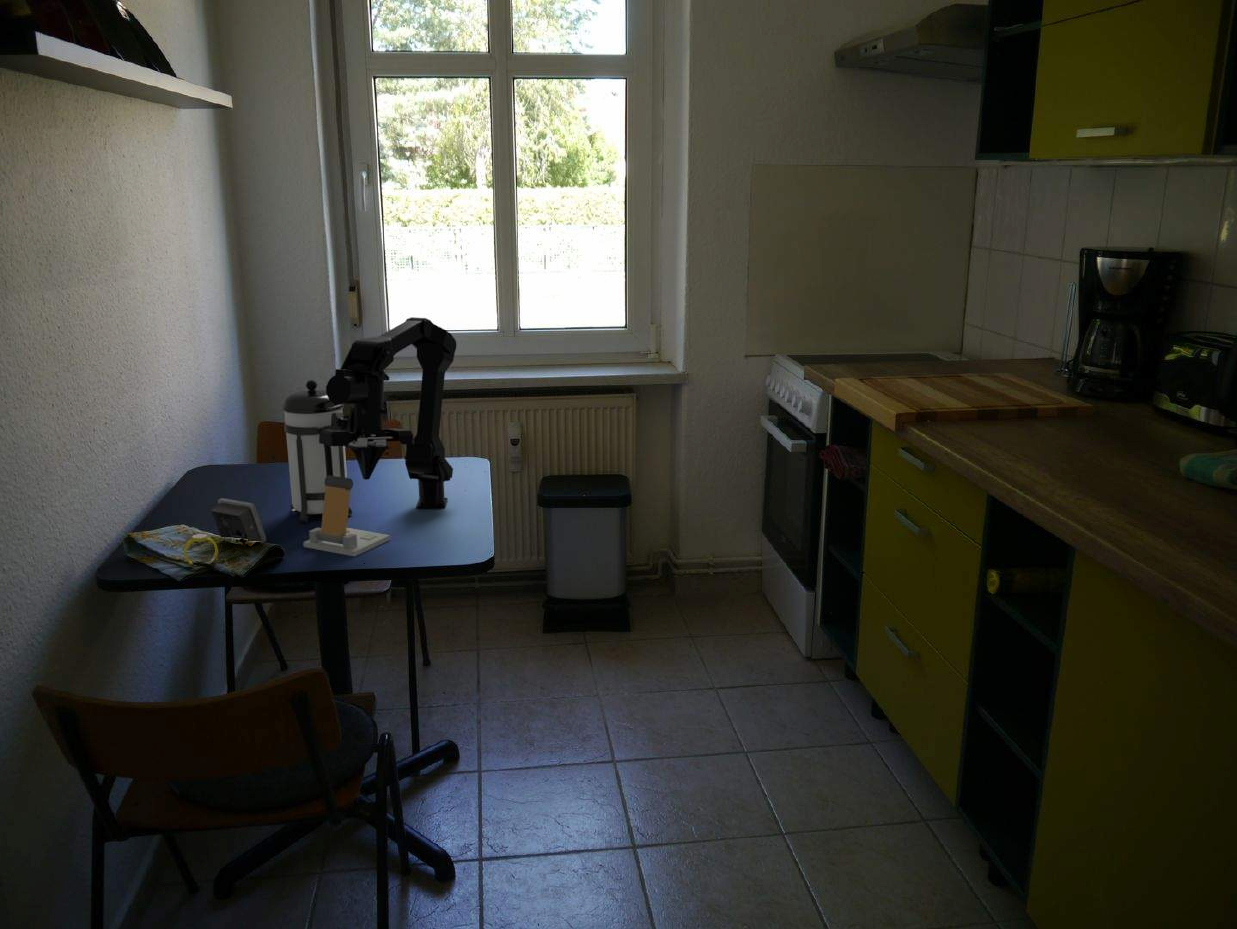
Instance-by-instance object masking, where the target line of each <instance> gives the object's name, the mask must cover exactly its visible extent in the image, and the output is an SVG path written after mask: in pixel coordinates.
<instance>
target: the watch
mask: <svg viewBox="0 0 1237 929" xmlns="http://www.w3.org/2000/svg"><path fill="white" fill-rule="evenodd" d="M204 541H208V542H211V544H213V545H214V553H213V556H212V557H214V558H216V559H217V558H218V555H219V549H218V545H217V543H216V542H215V541H214V540H213V539H212V538H211V537H210V536H208V534H207V533H197V534H194V535H192V536H191V538H190V539H189V540H188V541H186V543H185V545H184V547H183V556H184V559H185V561H186V562H187V563H188V564H189V565H190V566H192V565H191V564H193V563H194V562H193V561H191V560H190V559H189V557H188V550H189V547H190V546H191V545H192V544H193V543H194V542H204ZM192 562H193V563H192Z"/></svg>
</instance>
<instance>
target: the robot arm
mask: <svg viewBox="0 0 1237 929" xmlns="http://www.w3.org/2000/svg"><path fill="white" fill-rule="evenodd" d="M411 345H412V346H413V347H414V348H415V350H416V359H417V361H418V363H419V366H420V368H421V370H422V373H421V374H422V376H421V382H420V383H421V386H420V393H419V394H420V396H419V403H418V405H419V407H418V415H417V416H418V417H417V428H416V434H415V435H414V433H413V431H412V430H409V429H404V428H383V418H384V417H383V415H387V409H386V408H384V389H385V388H384V386H385V382H387V381H388V382H389V381H390V376H389V375H388V374H387V373H386V372H385V371H384V370H386V369H387V368H388V367H389V366H390V365H391V364H392V363H393V362H394V361H395V355H396V354H398V353H400V352H401V351H403V350H404V349H406V348H408V347H409V346H411ZM456 350H457V340H456V339H455V338H454V336H453V334H451V333H450V332H449V331H448V330H446V329H444V328H443V327H440V326H438V325H436V324H435V323H434V322H432V321H431V320H430V319H428V318H427V317H413V316H412V317H409V318H407V319H405V321H404V322H402V323H400V324H399V325H397V326H395V327H393V328H392V329H390V330H388V331H386V332H384V333H383V334H381V335H379V336H373V337H364V338H361V339H357V340H354V342H353V343H352V344H351V347H350V348H349V350H348V353H347V355H346V357H345V359H344V361H343V363H342V365H341V367H340V368H337V369H335V371H334V375H333V376H331V377H330V379H329V380H328V381H327V385H326V386H325V390H326V393H327V396H328V398H329V400H330V401H331V402H333V403H335V404H344V405H352V404H353V406H350V409H349V414H348V415H346V414H345V415H344V413H343V412H342V413H333V414H332V417H331V426H332V430H322V431H321V433H320V435H319V443H321V444H325V445H329V446H345V448H347V449H348V448H349V449H350V450H351V451H352V453H353V454H354V456H355V459H356V461H357V463H358V468H359V470H360V473H361V476H362V479H363V480H370V478H371V476H372V474H373V473H374V471H375V468H376V467H377V465H378V463H379V461H380V459H381V458H382V456H383V455H384V453H385V451H386V450H389V449H390V446H389V445H387V442H398V443H399V445H406V446H405V448H406V450H405V456H404V463H405V467H406V471H407V474H408V477H409V479H410V480H417V481H418V500H417V503H416V506H415V507H416V509H443V508H446V506H447V503H448V497H445V482H449V481H451V479H453V474H454V473H453V472H454V468H453V467H452V465H451V464H450V463H449V461H448V460H447V459H446V452H445V451H446V449H445V446H444V444H443V442H442V440H441V438H440V427H441V419H442V418H441V417H442V409H443V408H442V406H443V398H444V397H443V396H444V386H445V377H446V376H445V375H446V372H447V370H448V369H449V368H450V366H451V365H452V364H453V362H454V358H455V353H456ZM338 429H340V430H338Z"/></svg>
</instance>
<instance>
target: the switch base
mask: <svg viewBox="0 0 1237 929" xmlns="http://www.w3.org/2000/svg"><path fill="white" fill-rule="evenodd" d="M320 531H321V527H315V528H313V529H311V530H309V531H308V533H309V539H308V540H305V541H303V543H302V544H303V547H304V548H307V549H308V548H309V549H313V550H318V551H319V550H320V551H325V552H329V553H334V554H339V555H344V556H345V555H346V556H349V557H350V556H351V557H356V556H358V555H361V554H363V553H366V552H367V551H370V550H371V549H373V548H376V547H377V546H380V545H382V544H384V543H385V542H388V541H390V540H391V537H390V536H391V535H389V534H384V533H380V532H379V533H378V532H373V531H367V530H362V529H358V528H357V529H356V528H350V527H347V529H346V536H344V537H343V544H338V543H332V542H327V541H321V540H319V539H318V533H319V532H320Z"/></svg>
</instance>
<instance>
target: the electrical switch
mask: <svg viewBox="0 0 1237 929" xmlns="http://www.w3.org/2000/svg"><path fill="white" fill-rule="evenodd" d="M217 503H218V505H216V506H215V507H214V508H213V509H211V510H210V512H211V514H212V517H213V521H214V522H215V525H216V528H217V530H218V533H219V536H220V538H221V537H234V538H244V539H248V541H261V542H264V543H265V542H266V541H267V537H266V533H265V530H264V528H263V525H262V522H261V519H260V517H259V514H258V511H257V508H256V505H255V504H254V503H251V502H247V501H240V500H235V499H230V498H224V497H221V498H219V499H217Z"/></svg>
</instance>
